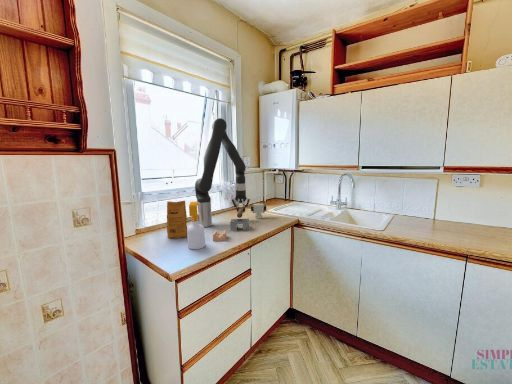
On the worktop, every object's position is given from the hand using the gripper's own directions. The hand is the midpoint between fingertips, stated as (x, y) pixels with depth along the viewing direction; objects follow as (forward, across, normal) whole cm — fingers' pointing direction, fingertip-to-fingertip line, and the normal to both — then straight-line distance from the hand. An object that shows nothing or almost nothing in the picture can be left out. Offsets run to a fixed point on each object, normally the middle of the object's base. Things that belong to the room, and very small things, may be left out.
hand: (241, 212), depth 172 cm
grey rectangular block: (+7, 0, +19) cm, 21 cm away
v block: (+7, +10, +36) cm, 39 cm away
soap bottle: (+8, +21, +48) cm, 53 cm away
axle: (0, 0, +7) cm, 7 cm away
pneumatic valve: (+6, -13, -7) cm, 16 cm away
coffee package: (+8, +37, +30) cm, 48 cm away
